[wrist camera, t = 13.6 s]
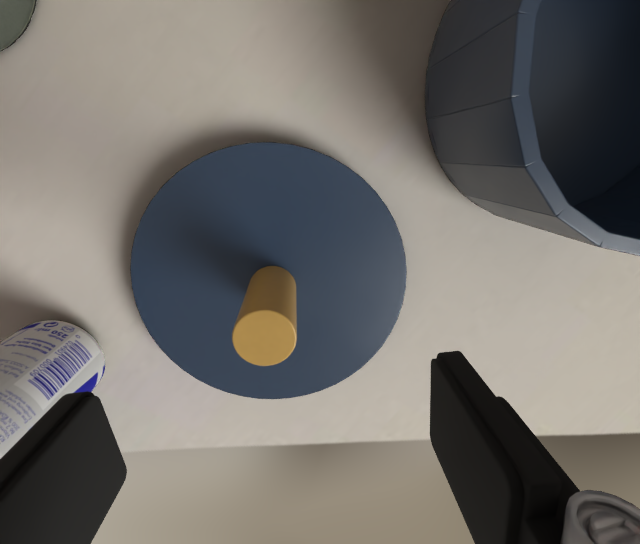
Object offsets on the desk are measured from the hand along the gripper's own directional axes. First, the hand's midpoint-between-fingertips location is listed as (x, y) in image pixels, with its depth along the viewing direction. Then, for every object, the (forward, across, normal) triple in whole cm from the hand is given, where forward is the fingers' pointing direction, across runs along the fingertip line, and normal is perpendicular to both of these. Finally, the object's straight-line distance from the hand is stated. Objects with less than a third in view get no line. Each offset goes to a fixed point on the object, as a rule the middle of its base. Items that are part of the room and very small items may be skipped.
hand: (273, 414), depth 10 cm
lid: (+10, +1, 0) cm, 10 cm away
